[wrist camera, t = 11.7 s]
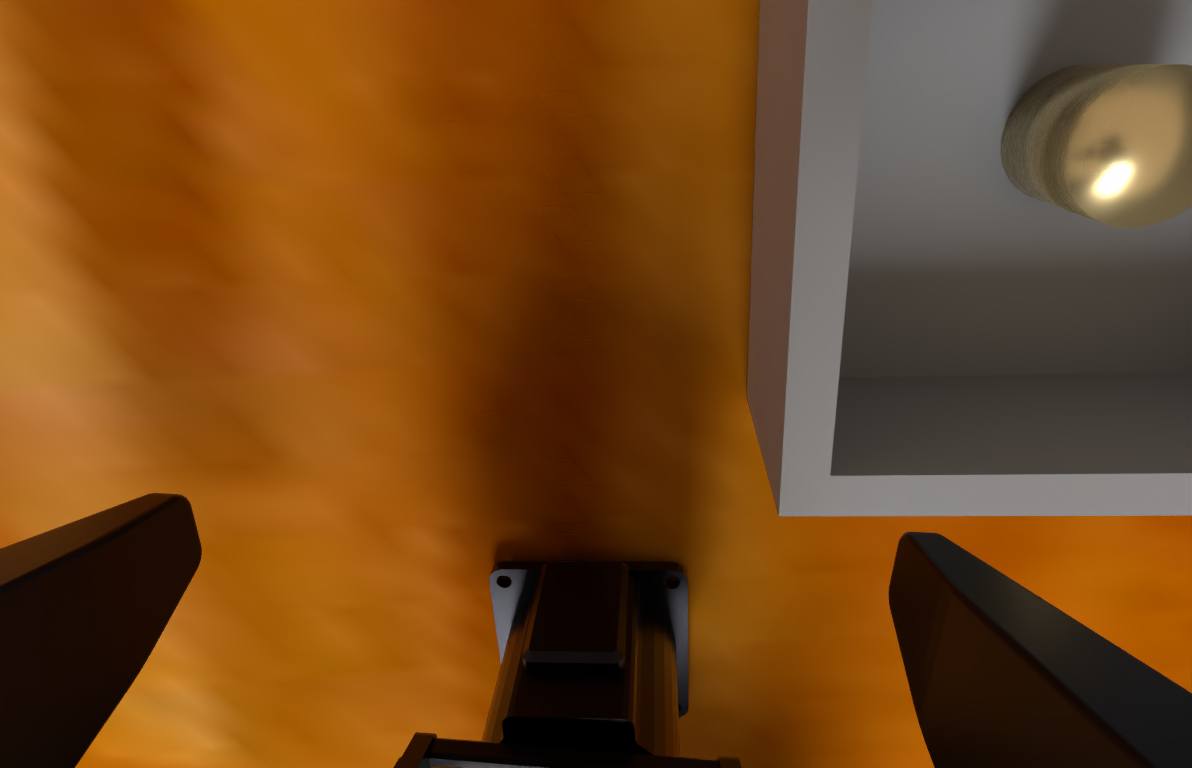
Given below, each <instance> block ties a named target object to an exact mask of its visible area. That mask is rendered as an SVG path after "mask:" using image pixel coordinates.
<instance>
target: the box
mask: <svg viewBox="0 0 1192 768" xmlns="http://www.w3.org/2000/svg"><path fill="white" fill-rule="evenodd" d="M1081 64H1185V65H1192V0H760V12H759V42H758V73H757V103H756V133H755V164H754V194H753V224H752V255H751V285H750V316H749V346H748V376H747V400H748V404H749V408H750V411H751V415H752V419H753V423H754V426H755V430H756V434H757V437H758V441H759V445H760V448H761V452H762V456H763V459H764V463H765V467H766V470H767V474H768V478H769V482H770V485H771V489H772V493H773V496H774V500H775V504H776V507H777V511H778V515H779V516H1144V515H1192V206H1191V207H1190V208H1188V209H1187V210H1185V211H1183V212H1182V213H1180V214H1178V215H1176V216H1175V217H1172V218H1170V219H1168V220H1166V221H1163V222H1160V223H1157V224H1154V225H1149V226H1145V227H1136V228H1121V227H1115V226H1111V225H1107V224H1104V223H1101V222H1098V221H1096V220H1093V219H1090V218H1087V217H1084V216H1081V215H1079V214H1076V213H1073V212H1070V211H1067V210H1065V209H1062V208H1059V207H1056V206H1053V205H1051V204H1048V203H1045V202H1042V201H1039V200H1037V199H1034V198H1031V197H1029V196H1027V195H1025V194H1023V193H1022V192H1021V191H1019V190H1018V189H1017V188H1016V187H1015V186H1014V185H1013V184H1012V183H1011V181H1010V180H1009V179H1008V177H1007V175H1006V173H1005V171H1004V168H1003V165H1002V160H1001V148H1000V147H1001V138H1002V134H1003V130H1004V127H1005V124H1006V121H1007V119H1008V117H1009V115H1010V113H1011V111H1012V110H1013V108H1014V107H1015V105H1016V103H1017V102H1018V101H1019V100H1020V98H1021V97H1022V96H1023V95H1024V94H1025V93H1026V92H1027V91H1028V90H1029V89H1030V88H1031V87H1032V86H1033V85H1035V84H1036V83H1037V82H1038V81H1040V80H1041V79H1043V78H1044V77H1046V76H1048V75H1050V74H1051V73H1053V72H1055V71H1058V70H1060V69H1063V68H1066V67H1070V66H1074V65H1081Z"/></svg>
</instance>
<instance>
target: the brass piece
mask: <svg viewBox="0 0 1192 768" xmlns="http://www.w3.org/2000/svg"><path fill="white" fill-rule="evenodd" d="M1000 148H1001V160H1002V165H1003V168H1004V171H1005V173H1006V175H1007V177H1008V179H1009V180H1010V181H1011V183H1012V184H1013V185H1014V186H1015V187H1016V188H1017V189H1018V190H1019V191H1021V192H1022V193H1023V194H1025V195H1027V196H1029V197H1031V198H1034V199H1037V200H1039V201H1042V202H1045V203H1048V204H1051V205H1053V206H1056V207H1059V208H1062V209H1065V210H1067V211H1070V212H1073V213H1076V214H1079V215H1081V216H1084V217H1087V218H1090V219H1093V220H1096V221H1098V222H1101V223H1104V224H1107V225H1111V226H1115V227H1121V228H1136V227H1145V226H1149V225H1154V224H1157V223H1160V222H1163V221H1166V220H1168V219H1170V218H1172V217H1175V216H1176V215H1178V214H1180V213H1182V212H1183V211H1185V210H1187V209H1188V208H1190V207H1191V206H1192V65H1185V64H1081V65H1074V66H1070V67H1066V68H1063V69H1060V70H1058V71H1055V72H1053V73H1051V74H1050V75H1048V76H1046V77H1044V78H1043V79H1041V80H1040V81H1038V82H1037V83H1036V84H1035V85H1033V86H1032V87H1031V88H1030V89H1029V90H1028V91H1027V92H1026V93H1025V94H1024V95H1023V96H1022V97H1021V98H1020V100H1019V101H1018V102H1017V103H1016V105H1015V107H1014V108H1013V110H1012V111H1011V113H1010V115H1009V117H1008V119H1007V121H1006V124H1005V127H1004V130H1003V134H1002V138H1001V147H1000Z"/></svg>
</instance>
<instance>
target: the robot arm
mask: <svg viewBox="0 0 1192 768" xmlns="http://www.w3.org/2000/svg"><path fill="white" fill-rule="evenodd" d="M201 555H202V549H201V543H200V539H199V535H198V531H197V527H196V523H195V519H194V515H193V511H192V507H191V504H190V502H189V501H188V499H187V498H186V497H184V496H182V495H179V494H162V493H152V494H148V495H145V496H142V497H139V498H137V499H134V500H131V501H128V502H126V503H123V504H120V505H118V506H115V507H112V508H110V509H107V510H104V511H101V512H99V513H96V514H93V515H91V516H88V517H85V518H83V519H80V520H77V521H74V522H72V523H69V524H66V525H64V526H61V527H58V528H55V529H53V530H50V531H47V532H45V533H42V534H39V535H37V536H34V537H31V538H28V539H26V540H23V541H20V542H18V543H15V544H12V545H9V546H7V547H4V548H1V549H0V768H75V767H76V765H77V764H78V763H79V761H80V760H81V758H82V757H83V755H84V754H85V752H86V751H87V749H88V748H89V746H90V745H91V744H92V742H93V741H94V739H95V738H96V736H97V735H98V733H99V732H100V730H101V729H102V727H103V726H104V724H105V723H106V722H107V720H108V719H109V717H110V716H111V714H112V713H113V711H114V710H115V708H116V707H117V705H118V704H119V703H120V701H121V700H122V698H123V697H124V695H125V694H126V692H127V691H128V689H129V688H130V686H131V685H132V683H133V682H134V680H135V679H136V677H137V676H138V674H139V672H140V671H141V669H142V667H143V666H144V664H145V662H146V661H147V659H148V657H149V656H150V654H151V652H152V650H153V648H154V647H155V645H156V643H157V641H158V639H159V638H160V636H161V634H162V632H163V630H164V629H165V627H166V625H167V623H168V621H169V619H170V618H171V616H172V614H173V612H174V610H175V609H176V607H177V605H178V603H179V601H180V599H181V598H182V596H183V594H184V592H185V590H186V589H187V587H188V585H189V583H190V581H191V580H192V578H193V576H194V574H195V572H196V570H197V569H198V566H199V563H200V560H201ZM502 575H504V576H508V577H509V578H510V580H505V579H502V578H501V577H500V576H502ZM671 576H673V577H677V578H678V579H677V580H675V581H670V580H667V579H666V578H668V577H671ZM489 584H490V591H491V598H492V605H493V612H494V619H495V626H496V632H497V639H498V646H499V653H500V660H501V668H500V671H499V675H498V679H497V683H496V687H495V691H494V695H493V699H492V703H491V706H490V710H489V714H488V718H487V722H486V726H485V730H484V734H483V737H482V741H471V740H458V739H445V738H437V735H436V734H431V733H418V732H416V733H415V735H414V736H413V738H412V740H411V742H410V743H409V745H408V747H407V749H406V750H405V752H404V754H403V756H402V757H400V758H399V759H398V761H397V763H396V764H395V766H394V768H741V765H740V761H739V758H737V757H724V756H718V759H717V760H712V759H699V758H687V757H680V745H679V717H681V716H683V715H685V714H686V713H687V711H688V577H687V571H686V569H685V568H684V567H683V566H682V565H680V564H678V563H673V562H500V563H498V564H496V565H495V566H494V567H493V569H492V571H491V574H490V578H489ZM889 605H890V610H891V614H892V618H893V622H894V626H895V630H896V634H897V639H898V643H899V647H900V651H901V655H902V659H903V663H904V667H905V671H906V675H907V679H908V683H909V687H910V691H911V695H912V700H913V704H914V707H915V711H916V715H917V718H918V722H919V725H920V728H921V731H922V734H923V737H924V740H925V743H926V746H927V748H928V751H929V754H930V756H931V759H932V762H933V764H934V767H935V768H1192V693H1190V692H1189V691H1187V690H1186V689H1184V688H1183V687H1181V686H1179V685H1178V684H1176V683H1175V682H1173V681H1171V680H1170V679H1168V678H1167V677H1165V676H1164V675H1162V674H1160V673H1159V672H1157V671H1156V670H1154V669H1152V668H1151V667H1149V666H1148V665H1146V664H1145V663H1143V662H1141V661H1140V660H1138V659H1137V658H1135V657H1133V656H1132V655H1130V654H1129V653H1127V652H1126V651H1124V650H1122V649H1121V648H1119V647H1118V646H1116V645H1115V644H1113V643H1111V642H1110V641H1108V640H1107V639H1105V638H1103V637H1102V636H1100V635H1099V634H1097V633H1096V632H1094V631H1092V630H1091V629H1089V628H1088V627H1086V626H1084V625H1083V624H1081V623H1080V622H1078V621H1077V620H1075V619H1073V618H1072V617H1070V616H1069V615H1067V614H1065V613H1064V612H1062V611H1061V610H1059V609H1058V608H1056V607H1054V606H1053V605H1051V604H1050V603H1048V602H1046V601H1045V600H1043V599H1042V598H1040V597H1039V596H1037V595H1035V594H1034V593H1032V592H1031V591H1029V590H1028V589H1026V588H1024V587H1023V586H1021V585H1020V584H1018V583H1016V582H1015V581H1013V580H1012V579H1010V578H1009V577H1007V576H1005V575H1004V574H1002V573H1001V572H999V571H997V570H996V569H994V568H993V567H991V566H990V565H988V564H986V563H985V562H983V561H982V560H980V559H978V558H977V557H975V556H974V555H972V554H971V553H969V552H967V551H966V550H964V549H963V548H961V547H960V546H958V545H956V544H955V543H953V542H952V541H950V540H948V539H947V538H945V537H944V536H942V535H940V534H937V533H922V532H906V533H905V534H903V535H902V536H901V538H900V540H899V543H898V547H897V552H896V557H895V561H894V566H893V571H892V575H891V580H890V585H889Z"/></svg>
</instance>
